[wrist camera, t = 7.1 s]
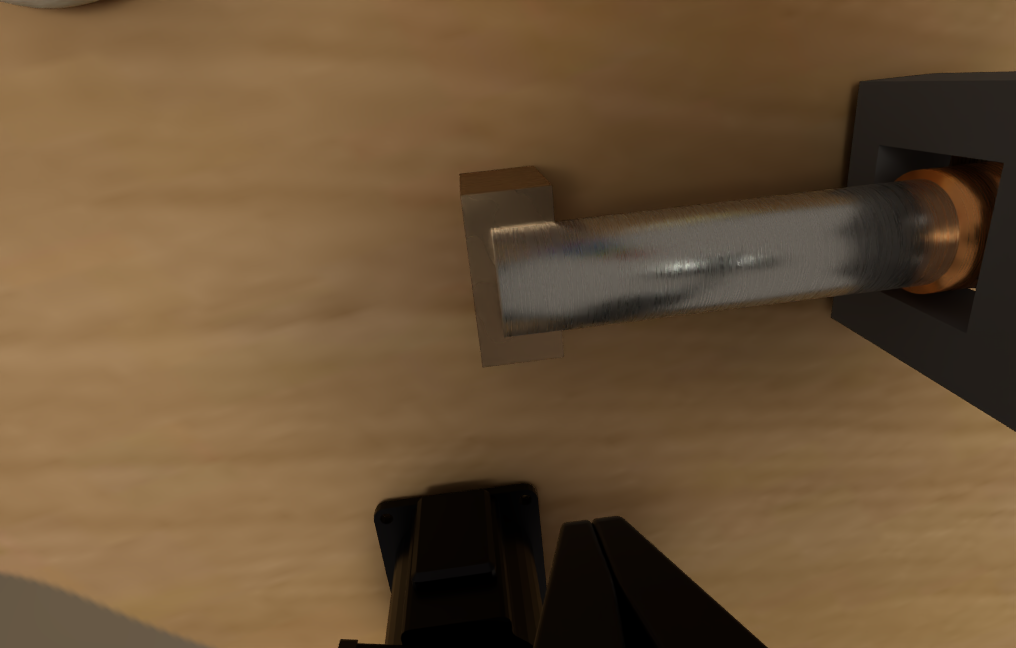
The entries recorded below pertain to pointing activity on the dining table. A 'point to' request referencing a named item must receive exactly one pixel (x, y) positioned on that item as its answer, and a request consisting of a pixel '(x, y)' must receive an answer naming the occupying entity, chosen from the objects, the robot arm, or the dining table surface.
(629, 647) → the robot arm
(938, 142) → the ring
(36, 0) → the stacking toy
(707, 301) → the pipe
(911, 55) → the dining table surface
